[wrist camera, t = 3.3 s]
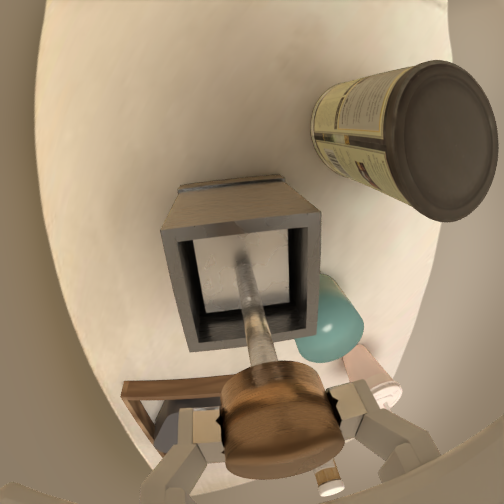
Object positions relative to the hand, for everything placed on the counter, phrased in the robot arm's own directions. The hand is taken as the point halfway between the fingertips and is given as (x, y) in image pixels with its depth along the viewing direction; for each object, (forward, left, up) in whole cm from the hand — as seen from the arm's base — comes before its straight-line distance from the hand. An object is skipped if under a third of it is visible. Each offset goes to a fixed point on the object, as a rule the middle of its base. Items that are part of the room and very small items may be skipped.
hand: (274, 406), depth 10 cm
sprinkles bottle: (+45, +11, -21) cm, 51 cm away
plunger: (0, 0, -12) cm, 12 cm away
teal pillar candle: (+10, +8, -21) cm, 24 cm away
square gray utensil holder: (0, 0, -21) cm, 21 cm away
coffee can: (-9, +13, -21) cm, 26 cm away
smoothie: (+21, +15, -21) cm, 33 cm away
